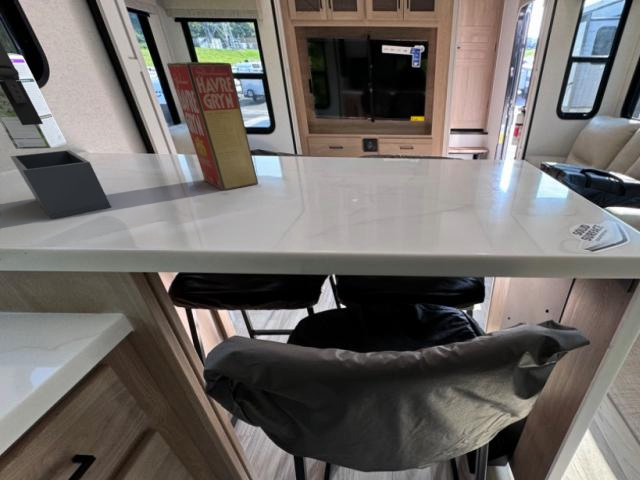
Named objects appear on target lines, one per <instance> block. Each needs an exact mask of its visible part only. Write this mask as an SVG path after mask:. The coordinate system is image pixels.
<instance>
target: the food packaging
mask: <svg viewBox="0 0 640 480" xmlns="http://www.w3.org/2000/svg"><path fill="white" fill-rule="evenodd" d="M166 66H167V68H168V71H169V74H170V77H171V81H172V84H173V88H174V90H175V93H176V96H177V99H178V103H179V105H180V108H181V111H182V114H183V118H184V120H185V123H186V126H187V129H188V133H189V135H190V138H191V142H192V145H193V148H194V150H195V153H196V157H197V160H198V163H199V167H200V170H201V174H202V176H203V181H205V182H207V183H209V184H210V185H212V186H214V187H217V188H218V189H219V190H222V191H225V192H226V191H229V190H235V189H239V188H240V189H241V188H244V187H245V188H246V187H250V186H254V185H259V180H258V176H257V172H256V168H255V164H254V160H253V156H252V152H251V151H252V150H251V147H250V143H249V139H248V138H249V137H248V134H247V129H246V126H245V122H244V121H245V120H244V118H243V117H244V116H243V114H242V108H241V104H240V100H239V94H238V90H237V86H236V82H235V77H234V74H233V69H232V68H233V67H232V64H231V63H230V62H220V61H219V62H218V61H215V62H212V61H211V62H210V61H206V62H205V61H203V62H202V61H187V62H182V61H181V62H167V63H166Z"/></svg>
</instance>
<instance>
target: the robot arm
mask: <svg viewBox="0 0 640 480" xmlns="http://www.w3.org/2000/svg"><path fill="white" fill-rule="evenodd" d="M7 53H8V52H7V51H6V48H5V46H4V45H3V43H2V41H1V40H0V86H1V88H2V90H3V91H4V93H5V95H6V97H7V99H8V100H9V102H10V104H11V106H12V107H13V109H14V111H15V113H16V115H17V116H18V118H19V120H20V122H21V124H22V125H35V124H43V123H42V121H41V119H40V117H39V115H38V113H37V111H36V109H35V107H34V105H33V104H32V102H31V100H30V98H29V96H28V94H27V92H26V90H25V88H24V86H23V84H22V83H21V81H20V80H19V74H18V71H17V70H16V69H15V67H14V65H13V63H12V61H11V60H10V58H9V56H8V54H7Z"/></svg>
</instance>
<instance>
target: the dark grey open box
mask: <svg viewBox="0 0 640 480" xmlns="http://www.w3.org/2000/svg"><path fill="white" fill-rule="evenodd" d="M10 158H11V161H12V162H13V164H14V165H15V167H16V169H17V170H18V171H19V173H20V175H21V177H22V179H23V180H24V181H25V184H26V185H27V187H28V188H29V190H30V192H31V193H32V195H33V197H34V198H35V200H36V201H37V202H38V204H39V205H40V207H41V208H42V209H43V210H44V212H45V213H47V215H48V217H49V218H50V219H51V220H56V219H60V218H65V217H69V216H75V215H80V214H84V213H89V212H94V211H100V210H104V209H110V208H112V205H111V203H110V201H109V199H108V198H107V195H106V192H105V190H104V189H103V187H102V184H101V183H100V181H99V179H98V177H97V174H96V172H95V170H94V168H93V166H92V164H91V162H90V161H88V160H87V159H85V158H84V157H82V156H80V155H79V154H77V153H75V152H74V151H72V150H70V149H67V150H57V151H48V152H37V153H28V154H17V155H10Z"/></svg>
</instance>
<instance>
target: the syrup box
mask: <svg viewBox="0 0 640 480" xmlns="http://www.w3.org/2000/svg"><path fill="white" fill-rule="evenodd" d="M7 54H8V56H9V58H10V60H11V61H12V63H13V65H14V67H15V69H16V70H17V71H18V74H19V80H20V81H21V83H22V84H23V86H24V88H25V90H26V92H27V94H28V96H29V98H30V100H31V102H32V104H33V105H34V107H35V109H36V111H37V113H38V115H39V117H40V119H41V121H42V123H43V124H35V125H22V124H21V122H20V120H19V118H18V116H17V115H16V113H15V111H14V109H13V107H12V106H11V104H10V102H9V100H8V99H7V97H6V95H5V93H4V91H3V90H2V88H1V86H0V124H1V126H2V128H3V130H4V131H5V133H6V135H7V136H8V138H9V140H10V142H11V143H12V145H13V147H14V148H15V149H16V150H20V149H21V150H25V149H27V150H29V149H53V148H59V147H61V146H65V145H67V140H66V138H65V136H64V134H63V133H62V131H61V129H60V127H59V125H58V123H57V121H56V119H55V118H54V116H53V113H52V111H51V110H50V107H49V105H48V103H47V102H46V100H45V97H44V95H43V94H42V91H41V89H40V87H39V84H37V81H36V79H35V77H34V74H33V73H32V71H31V69H30V67H29V65H28V63H27V61H26V59H25V57H24V56H23V55H22V54H17V53H8V52H7Z"/></svg>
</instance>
